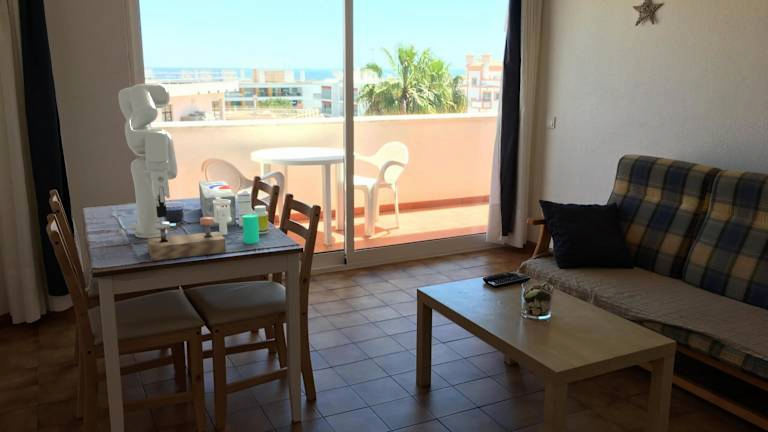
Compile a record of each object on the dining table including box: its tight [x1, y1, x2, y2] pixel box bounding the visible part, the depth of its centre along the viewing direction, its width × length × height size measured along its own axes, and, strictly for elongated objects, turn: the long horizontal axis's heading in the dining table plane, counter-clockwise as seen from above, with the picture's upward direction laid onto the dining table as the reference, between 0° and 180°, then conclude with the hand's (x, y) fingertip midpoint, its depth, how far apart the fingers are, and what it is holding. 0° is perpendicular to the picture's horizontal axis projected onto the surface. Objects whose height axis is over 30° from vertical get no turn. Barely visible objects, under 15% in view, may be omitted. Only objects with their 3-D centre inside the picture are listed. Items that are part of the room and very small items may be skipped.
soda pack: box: [198, 179, 237, 228], centre depth 293 cm, size 41×13×14 cm, turn 19°
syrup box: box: [236, 190, 253, 227], centre depth 277 cm, size 6×6×14 cm
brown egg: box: [199, 216, 214, 238], centre depth 239 cm, size 5×5×7 cm
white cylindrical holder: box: [213, 197, 232, 236], centre depth 262 cm, size 7×7×15 cm
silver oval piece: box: [155, 220, 171, 243], centre depth 233 cm, size 5×5×7 cm
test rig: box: [146, 231, 227, 262], centre depth 237 cm, size 26×12×5 cm, turn 116°
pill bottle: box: [252, 205, 270, 235], centre depth 265 cm, size 6×6×11 cm
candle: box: [242, 213, 260, 245], centre depth 251 cm, size 6×6×12 cm
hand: (161, 216), depth 231 cm, fingers closed
